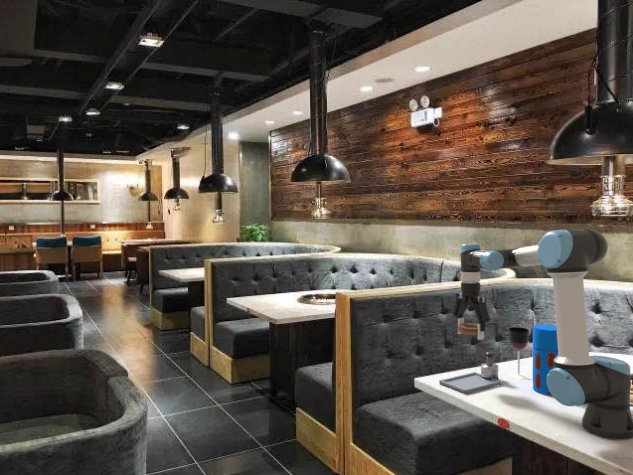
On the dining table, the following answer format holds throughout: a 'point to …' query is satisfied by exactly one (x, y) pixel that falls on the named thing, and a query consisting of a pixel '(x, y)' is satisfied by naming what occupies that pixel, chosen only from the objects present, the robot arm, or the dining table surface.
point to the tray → (469, 383)
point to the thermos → (543, 355)
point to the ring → (468, 329)
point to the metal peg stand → (489, 368)
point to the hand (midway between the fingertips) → (470, 336)
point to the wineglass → (518, 345)
